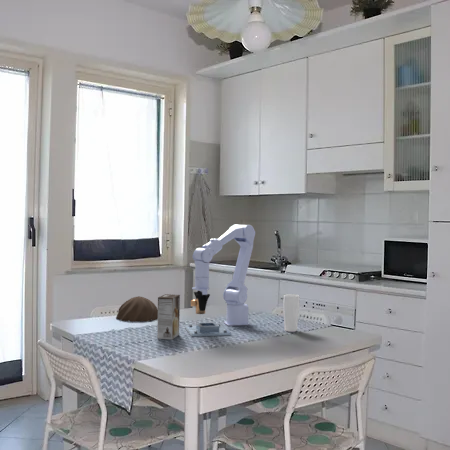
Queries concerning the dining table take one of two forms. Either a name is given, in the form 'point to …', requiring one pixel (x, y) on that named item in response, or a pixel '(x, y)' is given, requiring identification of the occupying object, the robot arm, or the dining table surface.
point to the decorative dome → (137, 310)
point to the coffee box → (168, 316)
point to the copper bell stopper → (197, 306)
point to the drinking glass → (291, 311)
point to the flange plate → (207, 329)
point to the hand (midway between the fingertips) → (201, 309)
